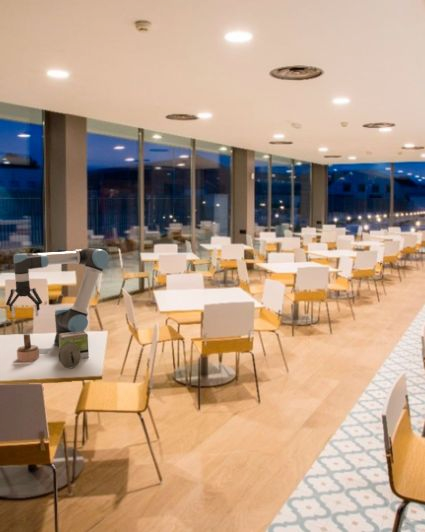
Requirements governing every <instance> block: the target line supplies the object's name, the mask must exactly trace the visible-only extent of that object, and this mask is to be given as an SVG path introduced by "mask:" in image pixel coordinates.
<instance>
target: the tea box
mask: <svg viewBox="0 0 425 532" xmlns="http://www.w3.org/2000/svg"><path fill="white" fill-rule="evenodd" d="M69 341H70V342H74V343H75V344H76V345H77V346H78V348H79V350H80V354H81V358H80V360H82V359H88V358H89V354H90V353H89V336H88V333H87V332H86V331H85V330H84V331H76V332H69V333H61V334H59V346H58V347H59V348H58V349H59V351H60V348H61V346H62V345H63V344H64V343H65V342H69ZM59 351H58V352H59Z"/></svg>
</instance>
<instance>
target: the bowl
mask: <svg viewBox="0 0 425 532" xmlns="http://www.w3.org/2000/svg"><path fill="white" fill-rule="evenodd" d="M39 349H40V348H39V347H38V349H37V350H35V351H31V352H19V351H18V349H16V358H17V361H19V362H32V361H35V360H38V359H39V358H40V354H39Z"/></svg>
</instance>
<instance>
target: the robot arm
mask: <svg viewBox="0 0 425 532" xmlns="http://www.w3.org/2000/svg"><path fill="white" fill-rule="evenodd" d="M66 264H68V265H69V264H74V265H83V266H84V268H85V272H84V274H83V277H82V280H81V283H80V286H79V288H78V293H77V294H76V298H75V300H74V303H73V305H72V306H71V307H65V308H64V307H63V308H59V309H55V311H54V320H55V330H56V331H55V332H56V333H55V337H54V341H53V343H54V344H53V345H54V346H56V347H59V334H61V333H69V332H76V331H84V332H85V330H86V329H87V327H88V324H89V321H88V315H89V314H88V313H89V312H88V311H87V310H88V307H89V304H90V301H91V299H92V296H93V293H94V290H95V287H96V284H97V282H98V279H99V277H100V276H99V275H100V274H103V271H104V269H105V268H107V267H108V266H109V264H110V254H109V253H108V252H107V251H106V250H104V249H101V248H93V247H88V248H82V249H80V248H79V249H73V251H57V252H54V251H53V252H36V253H29V252H24V253H23V252H22V253H15V254H14V255H13V267H14V279H15V289H14V288H12V289H10V293H9V295H8V298H7V300H6V302H5V305H6V306H9V311H10V312H11V317H12V318H15V317H16V311H15V302H16V301H17V300H18V298H19V297H27V298H29V299H30V300H31V302H33V303H34V304H35V305H34V308H35V309H34V311H35V312H34V313H35V317H38V316H39V311H40V309H41V308H40V305H41V304H43V300H42V299H41V297H40V295H39V294H38V292H37V289H36V287H33V288H31V285H30V284H31V283H30V280H29V279H30V274H29V272H30V271H29V270H34V269H43V268H47V267H48V266H49V265H50V266H51V265H52V266H53V265H66ZM15 292H16V293H17V294H16V295H15V297H14V294H15ZM32 294H33V295H34V296H33V295H32ZM13 297H14V298H13Z"/></svg>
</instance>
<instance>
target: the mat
mask: <svg viewBox="0 0 425 532" xmlns="http://www.w3.org/2000/svg"><path fill="white" fill-rule="evenodd" d="M51 350H52V348H50V347H49V348H39V355H46V354H48V353H49V352H50V351H51Z"/></svg>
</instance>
